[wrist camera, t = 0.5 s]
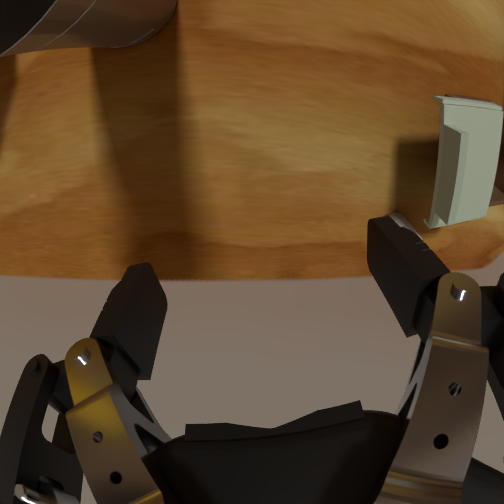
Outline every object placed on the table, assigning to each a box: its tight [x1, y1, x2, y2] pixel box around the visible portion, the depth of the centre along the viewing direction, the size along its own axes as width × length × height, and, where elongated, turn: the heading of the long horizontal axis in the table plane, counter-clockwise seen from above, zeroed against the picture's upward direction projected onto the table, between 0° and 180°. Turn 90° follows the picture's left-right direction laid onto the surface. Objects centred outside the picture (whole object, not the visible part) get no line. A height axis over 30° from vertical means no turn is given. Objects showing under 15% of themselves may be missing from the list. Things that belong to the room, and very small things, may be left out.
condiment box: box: [445, 94, 504, 207], centre depth 22 cm, size 12×9×7 cm
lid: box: [423, 96, 503, 229], centre depth 19 cm, size 14×9×4 cm
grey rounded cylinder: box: [385, 212, 423, 240], centre depth 32 cm, size 5×5×5 cm
